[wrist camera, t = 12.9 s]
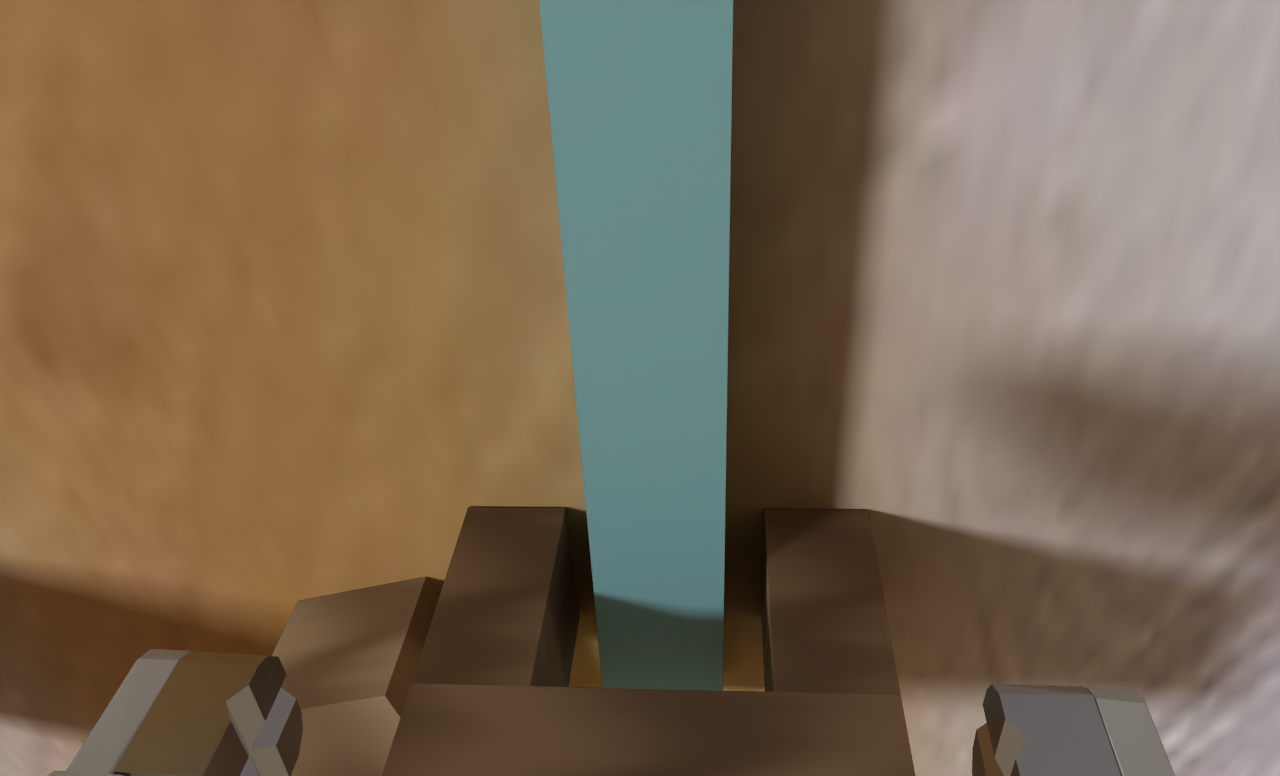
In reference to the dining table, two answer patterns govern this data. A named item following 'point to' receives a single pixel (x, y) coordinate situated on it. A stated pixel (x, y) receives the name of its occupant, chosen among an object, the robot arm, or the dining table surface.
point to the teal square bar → (648, 317)
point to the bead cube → (354, 672)
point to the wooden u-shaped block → (652, 718)
